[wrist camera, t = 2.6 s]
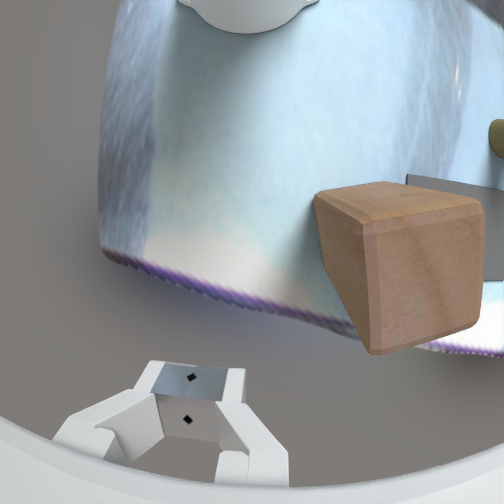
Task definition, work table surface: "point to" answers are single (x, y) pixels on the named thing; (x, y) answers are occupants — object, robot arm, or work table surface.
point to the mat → (495, 212)
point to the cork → (497, 137)
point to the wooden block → (403, 261)
